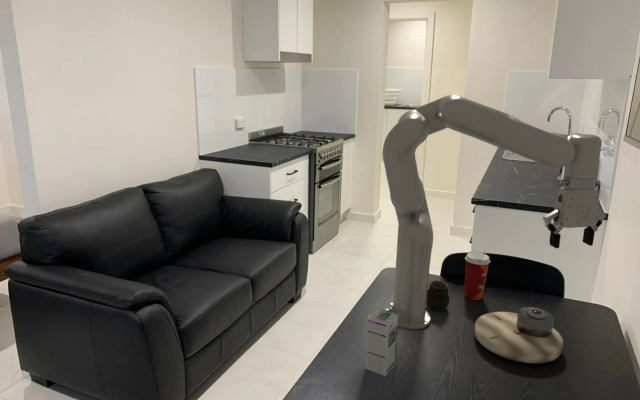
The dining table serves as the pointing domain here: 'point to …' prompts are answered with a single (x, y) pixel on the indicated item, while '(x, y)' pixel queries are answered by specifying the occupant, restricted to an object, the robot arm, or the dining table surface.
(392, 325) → the syrup box
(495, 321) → the turntable
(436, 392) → the dining table surface
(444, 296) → the mate gourd
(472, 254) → the paper cup
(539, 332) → the cover
